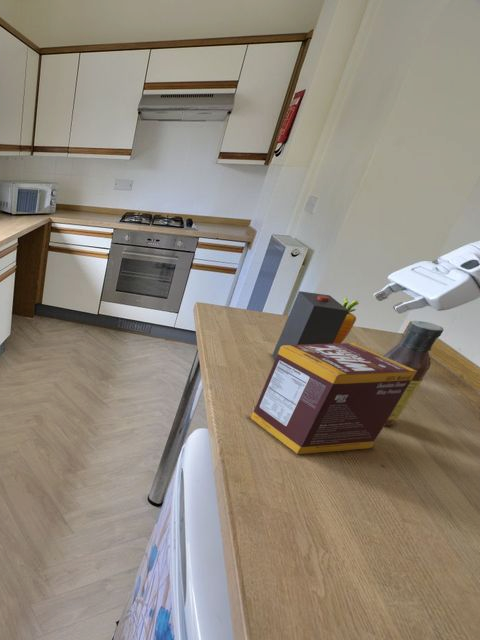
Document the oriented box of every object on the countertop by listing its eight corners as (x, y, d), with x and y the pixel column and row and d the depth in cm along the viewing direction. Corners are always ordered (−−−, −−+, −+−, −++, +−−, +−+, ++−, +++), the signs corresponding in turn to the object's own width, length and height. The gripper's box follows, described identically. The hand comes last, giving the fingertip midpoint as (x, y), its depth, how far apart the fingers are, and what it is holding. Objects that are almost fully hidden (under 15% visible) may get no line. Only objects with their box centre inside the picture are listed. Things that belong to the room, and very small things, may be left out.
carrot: (313, 347, 108) (337, 293, 102) (336, 353, 106) (363, 298, 99) (314, 354, 105) (339, 298, 98) (338, 360, 102) (366, 303, 96)
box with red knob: (357, 371, 97) (395, 300, 89) (379, 393, 88) (422, 317, 80) (272, 355, 103) (300, 287, 95) (283, 374, 94) (315, 301, 86)
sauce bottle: (353, 404, 84) (403, 314, 75) (395, 418, 80) (452, 324, 71) (350, 416, 79) (402, 323, 71) (393, 432, 75) (454, 334, 67)
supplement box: (372, 448, 71) (419, 370, 64) (297, 455, 68) (338, 374, 61) (317, 413, 80) (353, 341, 73) (249, 418, 77) (280, 344, 71)
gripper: (428, 248, 97) (358, 281, 105) (488, 268, 80) (400, 306, 87) (442, 269, 98) (372, 301, 105) (504, 293, 81) (416, 329, 88)
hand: (385, 303), depth 96 cm, fingers open, 8 cm apart
